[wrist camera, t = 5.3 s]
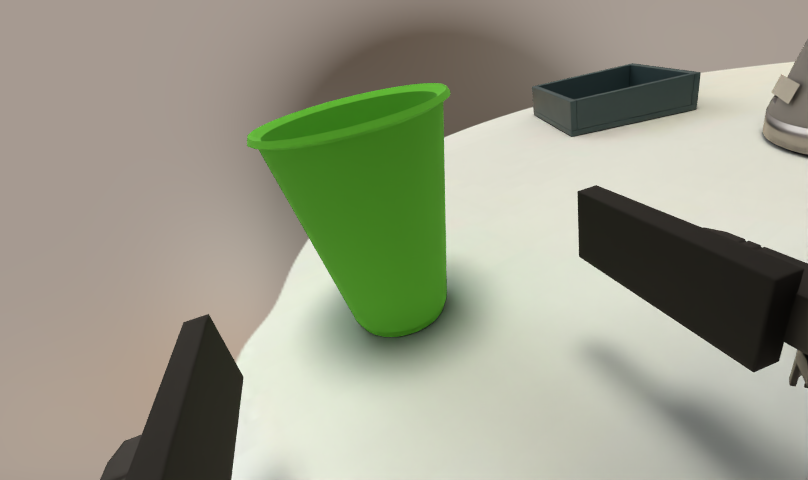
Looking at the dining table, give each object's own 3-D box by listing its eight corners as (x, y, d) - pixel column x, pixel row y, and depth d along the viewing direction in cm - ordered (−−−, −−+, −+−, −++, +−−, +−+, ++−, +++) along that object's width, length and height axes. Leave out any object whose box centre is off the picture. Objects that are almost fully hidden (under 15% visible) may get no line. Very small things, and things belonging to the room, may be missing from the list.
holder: (631, 92, 53) (632, 63, 51) (696, 109, 41) (700, 72, 40) (533, 114, 54) (531, 86, 52) (571, 136, 42) (570, 101, 41)
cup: (513, 329, 19) (484, 90, 14) (328, 393, 18) (228, 160, 13) (450, 249, 27) (418, 78, 22) (319, 291, 26) (254, 121, 21)
